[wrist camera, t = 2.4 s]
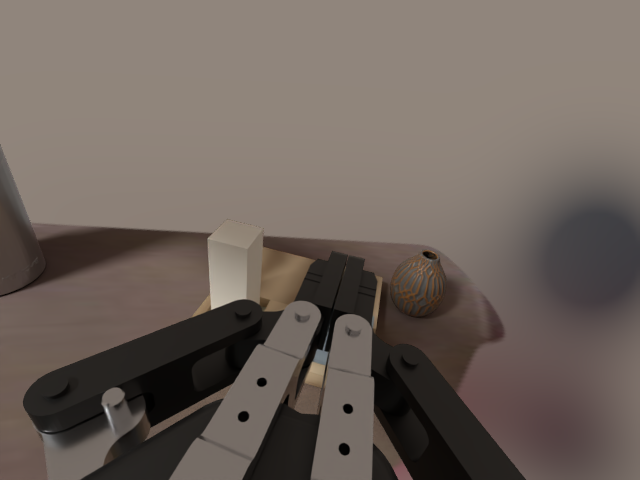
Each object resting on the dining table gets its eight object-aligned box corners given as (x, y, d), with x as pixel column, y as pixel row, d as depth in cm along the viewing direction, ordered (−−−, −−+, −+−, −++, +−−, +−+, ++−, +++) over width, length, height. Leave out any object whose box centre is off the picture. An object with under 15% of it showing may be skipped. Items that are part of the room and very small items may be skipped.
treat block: (212, 326, 38) (207, 238, 31) (228, 303, 41) (227, 219, 34) (245, 336, 37) (247, 249, 31) (259, 312, 40) (263, 228, 34)
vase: (376, 293, 47) (391, 242, 42) (415, 285, 50) (434, 236, 45) (404, 329, 42) (425, 276, 37) (445, 318, 45) (470, 267, 40)
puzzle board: (181, 345, 36) (179, 332, 35) (249, 254, 51) (249, 243, 50) (364, 401, 33) (368, 389, 32) (379, 288, 48) (382, 277, 47)
